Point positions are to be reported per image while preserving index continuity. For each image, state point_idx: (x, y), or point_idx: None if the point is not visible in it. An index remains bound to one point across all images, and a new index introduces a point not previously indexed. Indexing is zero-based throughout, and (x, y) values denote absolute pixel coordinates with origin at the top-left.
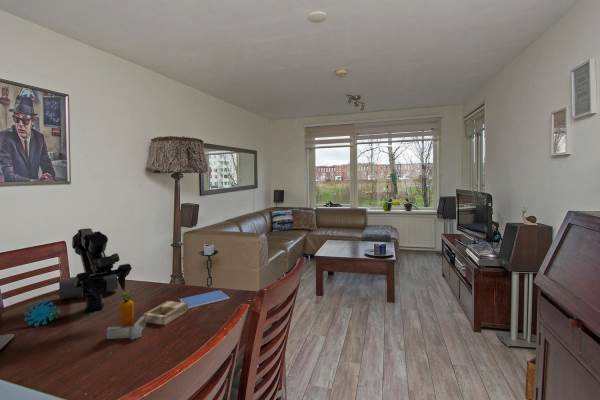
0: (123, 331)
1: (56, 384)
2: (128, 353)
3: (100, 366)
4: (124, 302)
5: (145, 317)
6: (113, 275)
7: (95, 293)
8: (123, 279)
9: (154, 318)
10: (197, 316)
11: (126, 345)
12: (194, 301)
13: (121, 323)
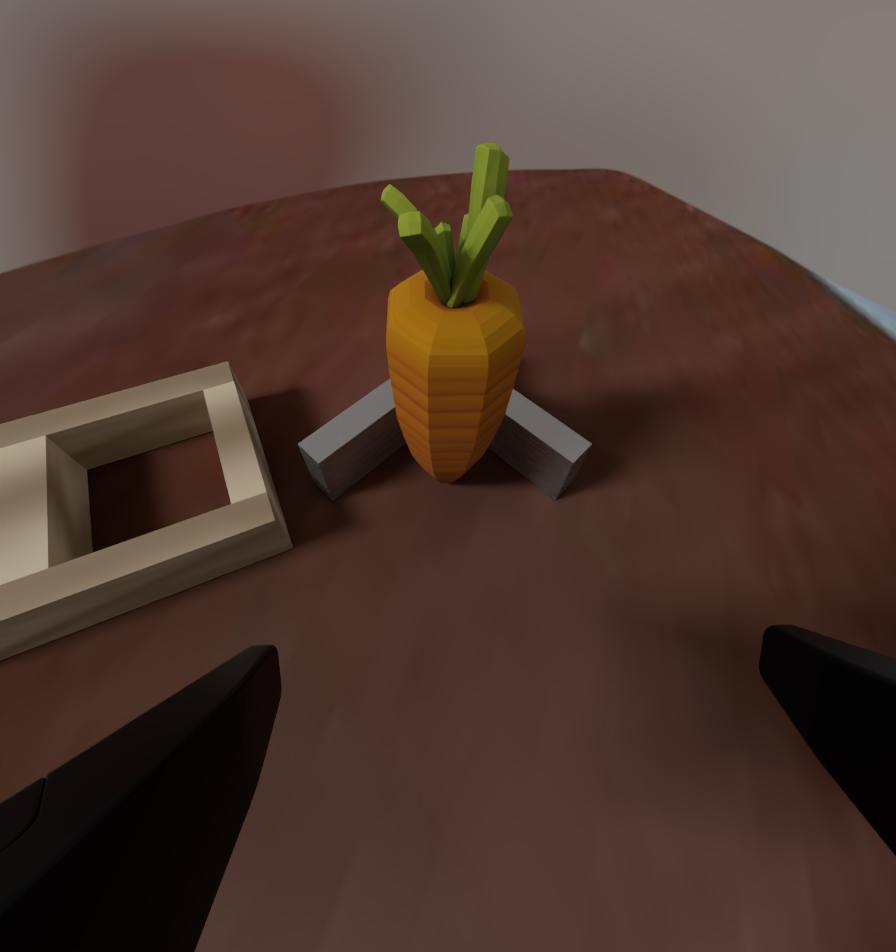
0: None
1: (783, 287)
2: (526, 293)
3: (639, 285)
4: (482, 279)
5: (306, 444)
6: None
7: (867, 653)
8: (29, 821)
9: (255, 441)
10: (52, 364)
11: None
12: None
13: (486, 447)
